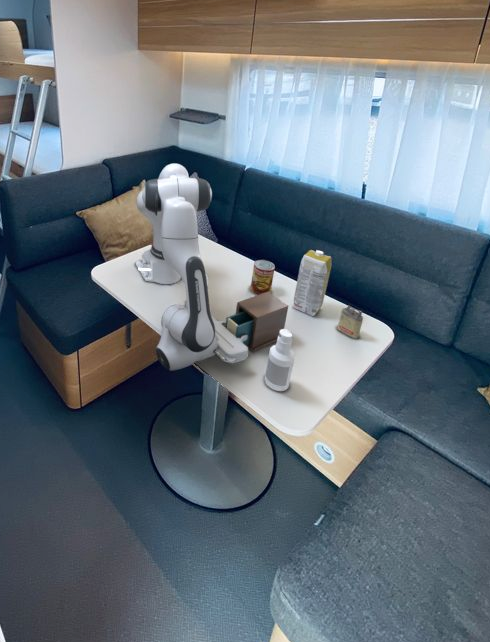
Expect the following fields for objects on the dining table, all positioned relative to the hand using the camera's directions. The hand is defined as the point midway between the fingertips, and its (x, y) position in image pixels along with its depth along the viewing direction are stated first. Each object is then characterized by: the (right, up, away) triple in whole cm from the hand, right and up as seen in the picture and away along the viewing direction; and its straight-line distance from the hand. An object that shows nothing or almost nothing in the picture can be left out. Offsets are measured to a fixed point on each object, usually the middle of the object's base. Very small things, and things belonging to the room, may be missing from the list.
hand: (238, 329), depth 134 cm
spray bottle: (+8, -12, -13) cm, 19 cm away
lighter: (+41, -4, +9) cm, 42 cm away
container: (+3, -4, +3) cm, 6 cm away
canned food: (+17, +5, +32) cm, 37 cm away
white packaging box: (-11, +1, +20) cm, 23 cm away
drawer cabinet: (+8, -4, +6) cm, 11 cm away
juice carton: (+31, +1, +22) cm, 38 cm away
